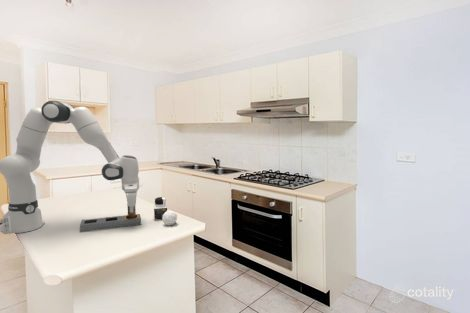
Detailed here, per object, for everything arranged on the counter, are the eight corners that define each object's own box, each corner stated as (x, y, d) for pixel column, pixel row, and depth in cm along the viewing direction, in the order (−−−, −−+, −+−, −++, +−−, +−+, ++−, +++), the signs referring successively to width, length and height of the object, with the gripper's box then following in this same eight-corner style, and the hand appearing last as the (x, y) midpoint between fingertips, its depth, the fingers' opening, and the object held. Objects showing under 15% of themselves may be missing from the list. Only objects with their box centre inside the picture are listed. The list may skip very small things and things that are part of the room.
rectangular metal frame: (80, 232, 142) (79, 224, 142) (82, 226, 151) (81, 219, 150) (141, 224, 153) (140, 218, 153) (140, 220, 161) (139, 213, 161)
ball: (169, 228, 156) (172, 214, 160) (178, 226, 151) (181, 211, 155) (157, 224, 152) (161, 209, 156) (166, 221, 147) (169, 207, 151)
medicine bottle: (154, 220, 160) (153, 199, 159) (154, 216, 167) (153, 196, 166) (167, 219, 162) (166, 198, 161) (166, 215, 169) (166, 196, 168)
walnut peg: (126, 221, 155) (125, 199, 154) (132, 219, 158) (131, 197, 157) (131, 222, 153) (130, 200, 152) (137, 220, 156) (136, 198, 155)
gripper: (124, 182, 162) (125, 206, 163) (124, 189, 143) (125, 216, 145) (135, 181, 164) (136, 205, 166) (137, 188, 146) (138, 215, 147)
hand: (131, 210), depth 155 cm, fingers closed on walnut peg, 4 cm apart
